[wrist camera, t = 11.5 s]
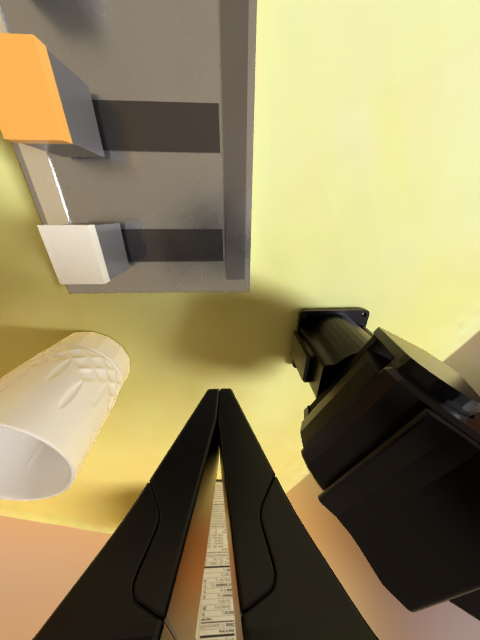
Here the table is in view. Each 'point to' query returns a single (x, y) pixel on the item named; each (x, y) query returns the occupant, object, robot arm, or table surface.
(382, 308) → the table surface
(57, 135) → the block
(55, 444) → the white cup
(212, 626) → the candy bar box
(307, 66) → the table surface
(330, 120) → the table surface
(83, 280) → the block
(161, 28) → the panel
